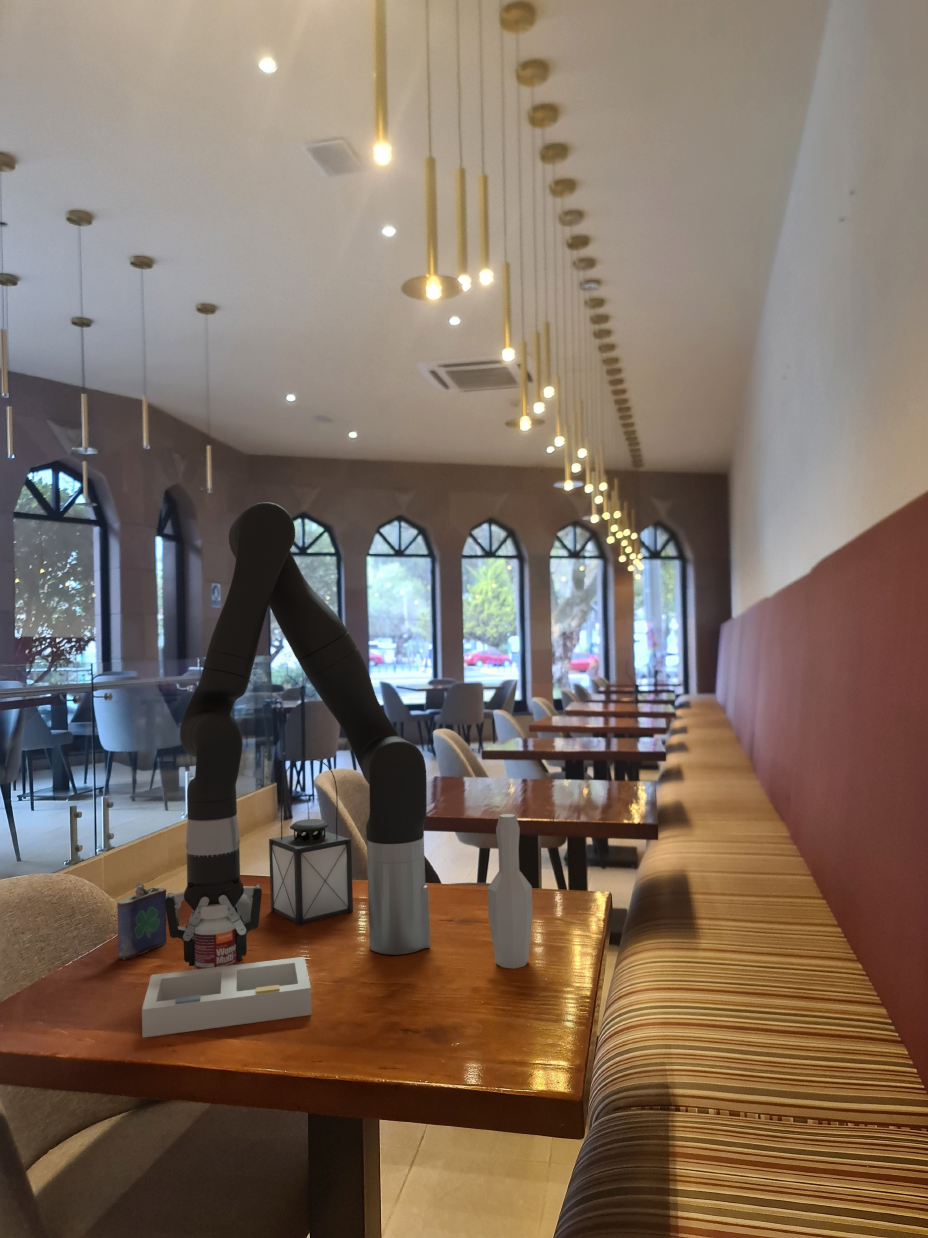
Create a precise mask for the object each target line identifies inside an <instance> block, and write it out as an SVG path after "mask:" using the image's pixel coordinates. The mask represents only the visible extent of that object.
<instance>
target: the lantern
mask: <svg viewBox="0 0 928 1238" xmlns="http://www.w3.org/2000/svg"><path fill="white" fill-rule="evenodd" d="M305 760H314V761H317V762H320V763H322V764H323V765H324V766H325V767H327V768H328V770H329V771H330V772H331V775H332V778H333V780H334V787H335V793H336V795H335V796H336V798H335V799H336V800H335V801H336V804H335V805H336V809H335V810H336V814H335V815H336V816H335V817H336V818H335V833H332V832H329V831H326V828H328V827H329V826H330V824H329V823H328V822H326V821H325V820H323V819H320V818H319V819H318V818H307V819H301V820H296V821H295V822H293V823H292V824H291V825H289V829H290V830H292V831H293V834H291V835H287V836H283V787H284V782H285V778H286V774H287V772H288V771H289V769H290V768H291V767H292V766H293V765H294V764H296V763H298V762H300V761H305ZM337 787H338V786H337V781H336V777H335V775H334V773H333V771H332V769H331V768H330V767H329V765H327V764H326V763H325V762H323V761H322V760H320V759H318V758H310V757H307V758H305V757H304V758H301V759H298V760H296V761H294V762H292V763H291V764H290V765H289V766H288V768H286V769H285V772H284V775H283V778H282V782H281V792H280V830H281V831H280V833H281V834H280V835H281V836H280V837H274V838H269V839H268V853H269V855H268V857H269V858H268V859H269V884H270V885H269V891H270V895H269V896H270V912H271V913H274V914H275V915H278V916H280V917H281V918H283V919H286V920H288V921H289V922H291V923H294V924H295V926H302V925H305V924H309V923H313V922H319V921H321V920H326V919H329V918H333V917H338V916H342V915H345V914H351V913H354V902H353V900H354V899H353V897H354V896H353V892H354V891H353V865H352V864H353V863H352V861H353V860H352V859H353V858H352V857H353V856H352V855H353V854H352V838H348V837H344V836H342V835H338V807H339V806H338V805H339V804H338V803H339V801H338V788H337Z"/></svg>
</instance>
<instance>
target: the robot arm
mask: <svg viewBox="0 0 928 1238" xmlns="http://www.w3.org/2000/svg"><path fill="white" fill-rule="evenodd" d="M295 539H296V526H295V523H294V520H293V518H292V516H291V514H290V513H289V512H288V511H287V510H286V509H285V508H284V507H282V506H281V505H279V504H277V503H274V502H265V501H263V502H258V503H255V504H253V505H251V506H248V507H247V508H246V509H244V510H243V511H242V512H241V513H240V514H239V516H237V518H236V519H235V520H234V521H233V522H232V524H231V525H230V529H229V532H228V544H229V547H230V551H231V552H232V555H233V557H235V565H234V571H233V574H232V575H233V576H232V578H231V579H232V580H231V583H230V585H229V586H230V587H229V589H228V593H227V596H226V599H225V601H224V605H223V607H222V609H221V612H220V614H219V616H218V619H217V622H216V625H215V627H214V630H213V633H212V635H211V638H210V641H209V645H208V648H207V652H206V655H205V658H204V659H205V660H204V664H203V666H202V669H201V670H202V671H201V676H200V679H199V682H198V684H197V686H196V688H195V690H194V692H193V694H192V696H191V698H190V700H189V702H188V704H187V706H186V709H185V711H184V714H183V716H182V719H181V724H180V729H179V740H180V744H181V746H182V748H183V749H184V750H185V752H187V754H189V755H190V756H193V757H195V758H196V759H195V775H194V777H193V778H192V779H191V780H190V781H189V782H188V785H187V791H186V798H187V799H186V800H187V801H186V803H187V804H186V806H187V824H186V832H185V833H186V835H185V838H186V839H185V841H186V842H185V850H186V881H187V882H186V887H185V890H184V891H182V892H178V893H174V892H168V893H166V899H165V906H166V920H167V924H168V925H167V926H168V930H169V931H168V932H169V936H170V938H172V939H179V940H182V942H183V960H184V962H185V963H186V964H187V963H188V966H189V967H194V935H193V933H194V931H195V928H196V927H197V926H198V924H199V921H200V919H201V908H202V907H207V905H213V904H221V905H227V911H228V917H229V919H230V921H231V922H232V923H234V925H235V928H236V930H237V961H243V957H245V956H246V954H247V950H248V948H247V947H248V945H247V942H248V941H247V940H248V939H247V935H248V932H249V931H252V930H257V929H258V927H259V926H260V925H259V924H260V915H261V914H260V913H261V905H262V894H263V892H262V890H263V889H262V885H261V884H259V883H256V884H254V885H253V886H252V885H251V886H250V885H249V886H248V885H244V884H243V882H242V880H241V863H240V862H241V859H240V853H241V851H240V844H241V843H240V842H241V839H240V829H239V827H240V826H239V823H238V814H237V813H238V811H237V810H238V808H237V807H238V806H237V781H238V777H239V772H240V768H241V767H240V765H241V760H242V756H243V755H242V753H243V735H242V730H241V726H240V725H239V723H238V722H237V720H236V719H235V718H234V717H233V716H232V715H231V713H232V710H233V708H234V705H235V702H237V700H238V699H240V698H242V697H243V696H244V695H245V693H246V691H247V689H248V686H249V684H250V678H251V675H252V671H253V667H254V664H255V661H256V660H255V659H256V655H257V651H258V648H259V644H260V639H261V636H262V631H263V626H264V622H265V618H266V615H267V612H268V609H269V608H270V610H271V612H272V614H273V616H274V619H275V621H276V623H277V625H278V626H279V629H280V630H281V633H282V634H283V636H284V638H285V639H286V641H287V644H288V646H289V647H290V649H291V650H292V653H293V655H294V657H295V658H296V660H297V662H298V664H299V665H300V667H301V669H302V671H303V673H304V674H305V676H306V677H307V680H309V682H310V684H311V685H312V687H313V688H314V691H316V693H317V695H318V696H319V697H320V699H321V701H322V702H323V704H324V705H325V706H326V707H327V709H328V710H329V712H330V713H331V715H332V716H333V717H334V719H336V721H337V722H338V725H339V726H340V728H341V729H342V731H343V733H344V735H345V737H346V739H347V741H348V744H349V746H350V747H351V750H352V752H353V754H354V757H355V759H356V761H357V764H358V766H359V769H360V771H361V774H362V776H363V778H364V780H365V781H366V782H367V784H368V785H369V814H368V815H369V816H368V819H367V822H366V824H365V825H366V827H365V832H366V857H367V858H366V861H367V862H366V866H367V867H366V868H367V869H366V870H367V897H368V899H367V900H368V901H367V903H368V904H367V905H368V937H369V939H368V940H369V949H370V950H372V951H373V952H375V953H376V954H377V953H378V954H382V955H389V956H392V955H396V956H397V955H407V954H412V953H415V952H418V951H420V950H424V949H428V948H431V932H430V931H431V930H430V926H431V925H430V899H429V898H430V895H429V886H428V885H427V884H426V867H425V864H426V863H425V862H426V861H425V839H424V838H425V823H426V820H427V810H428V809H427V807H428V806H427V803H428V797H427V795H428V794H427V793H428V792H427V791H428V790H427V786H428V785H427V766H426V762H425V761H426V760H425V757H424V755H423V753H422V751H421V750H420V749H419V747H417V745H415V744H414V743H412V742H410V741H408V740H406V739H405V738H403V737H402V735H400V733H399V732H398V730H397V729H396V728H395V726H394V725H393V723H392V722H391V720H390V718H388V716H387V714H386V713H385V711H384V710H383V708H382V706H381V704H380V702H379V700H378V698H377V695H376V693H375V689H374V685H373V683H372V679H371V677H370V673H369V671H368V668H367V665H366V663H365V661H364V657H363V655H362V653H361V652H360V649H359V648H358V646H357V644H356V642H355V641H354V639H353V637H352V635H351V634H350V632H349V631H348V628H347V626H345V624H344V622H343V621H342V620H341V618H340V617H339V616H338V614H337V613H336V612H335V611H334V610H333V609H332V608H331V607H330V606H329V605H328V603H326V601H325V600H324V599H323V598H322V597H321V596H320V595H319V594H318V593H317V592H316V591H315V590H314V589H313V588H312V587H311V585H310V584H309V583H308V581H307V579H305V578H306V577H304V575H303V573H302V572H301V569H300V568H299V565H298V563H297V562H296V559H295V557H294V556H293V555H294V554H293V553H292V551H291V549H292V547H293V546H294V544H295V543H294V542H295V541H296V540H295ZM243 894H245V895H246V896H247V900H248V901H249V902H252V906H251V916H250V919H249V920H246V921H244V920H243V918H242V916H241V915H240V912H239V910H238V908H237V907H236V904H237V902H238V901H239V899H240V898H241V896H242V895H243ZM183 901H185V902H186V903H187V905H188V906H189V907H190V908H191V909H192V913H191V915H190V917H189V920H188V922H187V924H186V926H180V921H179V915H178V910H179V909H180V908H181V906H182V902H183ZM228 909H229V910H228ZM199 912H200V913H199Z"/></svg>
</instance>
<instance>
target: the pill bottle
mask: <svg viewBox="0 0 928 1238" xmlns="http://www.w3.org/2000/svg"><path fill="white" fill-rule="evenodd" d="M228 910H229V909H228ZM199 913H200V912H199ZM193 936H194V966H193V970H197V969H205V968H213V967H222V966H230V965H239V964H238V963H239V962H238V961H239V960H238V961H237V930H236V928H235V925H234V923H232V922H231V921H230V919H229V917H228V911H227V905H221V904H213V905H207V907H202V908H201V919H200V921H199V924H198V926H197V927H196V928H195V931H194V933H193Z"/></svg>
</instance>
